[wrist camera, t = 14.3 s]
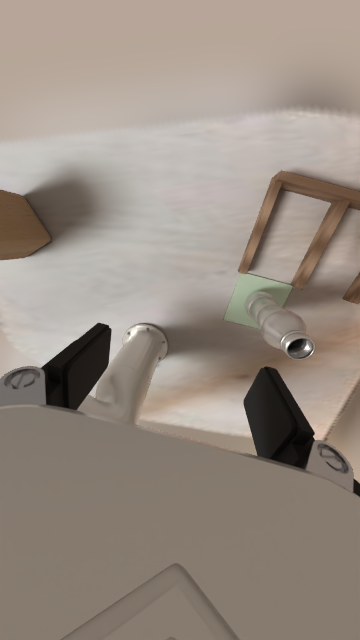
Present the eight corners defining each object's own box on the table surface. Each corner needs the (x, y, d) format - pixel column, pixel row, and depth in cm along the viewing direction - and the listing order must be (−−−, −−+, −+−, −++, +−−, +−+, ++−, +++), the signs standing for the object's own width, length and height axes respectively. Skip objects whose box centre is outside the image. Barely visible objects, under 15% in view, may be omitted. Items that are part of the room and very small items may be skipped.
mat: (269, 331, 45) (269, 331, 45) (223, 319, 45) (223, 319, 45) (292, 285, 40) (293, 285, 40) (241, 271, 40) (241, 272, 40)
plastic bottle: (255, 320, 44) (295, 376, 26) (236, 302, 43) (264, 348, 25) (277, 302, 42) (338, 349, 24) (258, 282, 40) (307, 317, 22)
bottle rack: (347, 300, 40) (362, 306, 37) (237, 270, 40) (241, 274, 36) (405, 214, 33) (430, 210, 30) (272, 178, 33) (281, 170, 29)
